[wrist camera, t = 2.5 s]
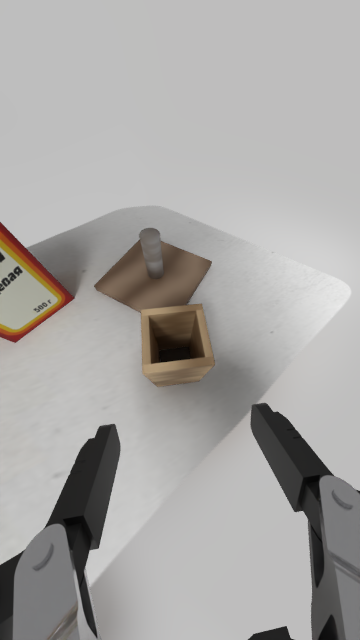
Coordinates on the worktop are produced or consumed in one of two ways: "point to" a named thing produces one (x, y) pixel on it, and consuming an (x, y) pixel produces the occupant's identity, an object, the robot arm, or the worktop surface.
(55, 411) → the worktop surface
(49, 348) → the worktop surface
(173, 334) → the wooden holder box
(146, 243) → the plate
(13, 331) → the baking soda box
